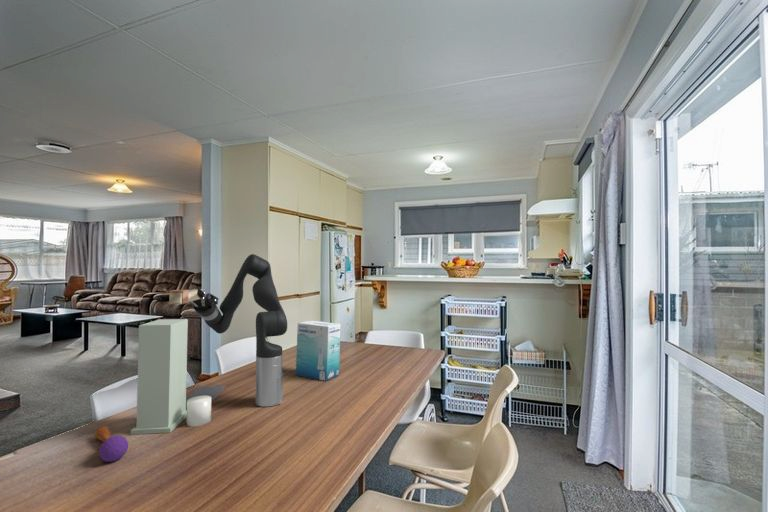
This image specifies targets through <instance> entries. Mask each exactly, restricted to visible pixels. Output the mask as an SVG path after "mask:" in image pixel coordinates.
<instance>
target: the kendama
mask: <svg viewBox="0 0 768 512" xmlns="http://www.w3.org/2000/svg"><path fill="white" fill-rule="evenodd" d="M94 437H95V438H96V439H97V440H100V441H102V444H101V445H100V447H99V449H98V453H99V458H100V459H101V460H102V461H103V462H105V463H113V462H116V461H118V460H120V459H121V458H122V457H124V455H125V454H126V453H127V451H128V449H129V441H128V439H127V438H126V437H125V436H123V435H113V436H111V432H110V428H109V427H108V426H105V425H103V426H100V427H99V428H97V429H96V430H95V433H94Z"/></svg>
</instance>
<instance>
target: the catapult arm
mask: <svg viewBox="0 0 768 512" xmlns="http://www.w3.org/2000/svg"><path fill="white" fill-rule="evenodd" d="M198 289H199V288H198ZM198 289H194V288H193V289H189V290H187V289H173V290H169V293H168V294H169V298H168V299H169V301H168V303H169V305H183V304H184V303H187V304H189V303H188V302H190V301H194V300H198V299H201V298H200V297H199V296H198V295H197V291H198ZM200 289H201V288H200ZM201 290H202V291H203V292H204V289H201Z"/></svg>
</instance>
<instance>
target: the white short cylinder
mask: <svg viewBox="0 0 768 512" xmlns="http://www.w3.org/2000/svg"><path fill="white" fill-rule="evenodd" d="M211 421H212V402H211V397H210V396H197V397H193V398H190V399H189V400H187V417H186V424H185V425H186V426H188V427H201V426H205V425H207V424H208V423H210V422H211Z"/></svg>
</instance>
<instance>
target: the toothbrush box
mask: <svg viewBox="0 0 768 512" xmlns="http://www.w3.org/2000/svg"><path fill="white" fill-rule="evenodd" d="M341 327H342V325H341V323H336V322H327V321H320V320H319V321H318V320H306V321H301V322H297V329H296V331H297V332H296V333H297V335H296V356H295V357H296V360H295V361H296V362H295V363H296V364H295V375H296V376H299V377H304V378H308V377H309V378H310V379H313V378H314V380H318V379H319V380H320V381H323V380H324V381H323V382H327V380H328V381H329V380H332V379H333V377H334V378H336V377H338V376H337V375H339V376H340V356H341V355H340V353H341V350H340V349H341ZM335 376H336V377H335ZM319 380H318V381H319Z"/></svg>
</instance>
